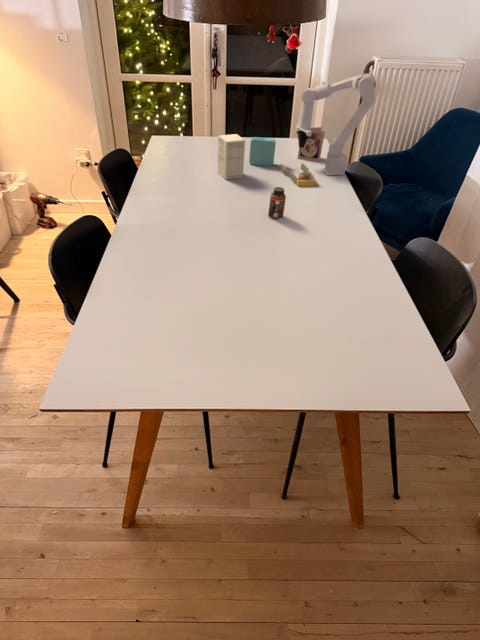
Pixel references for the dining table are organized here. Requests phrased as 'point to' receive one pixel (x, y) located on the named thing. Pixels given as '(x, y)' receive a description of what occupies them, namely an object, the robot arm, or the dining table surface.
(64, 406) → the dining table surface
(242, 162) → the supplement box
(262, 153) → the data package
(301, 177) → the tan rounded capsule
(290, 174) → the keyhole track
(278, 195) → the supplement bottle
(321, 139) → the greeting card
